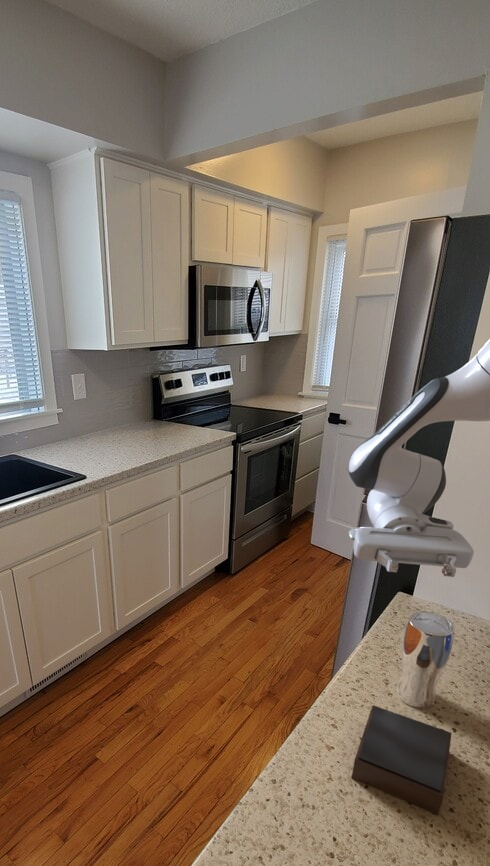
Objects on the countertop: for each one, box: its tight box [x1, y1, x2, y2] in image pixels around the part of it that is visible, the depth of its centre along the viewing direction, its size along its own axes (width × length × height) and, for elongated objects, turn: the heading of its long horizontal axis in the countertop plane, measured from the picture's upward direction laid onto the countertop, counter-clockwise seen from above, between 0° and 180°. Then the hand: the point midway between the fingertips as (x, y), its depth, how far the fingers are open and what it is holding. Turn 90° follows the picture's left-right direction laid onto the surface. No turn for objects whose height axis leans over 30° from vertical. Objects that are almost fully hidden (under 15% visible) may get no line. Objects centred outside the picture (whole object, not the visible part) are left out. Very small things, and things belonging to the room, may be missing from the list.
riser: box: [351, 705, 452, 816], centre depth 70 cm, size 12×11×4 cm
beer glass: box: [395, 611, 456, 709], centre depth 80 cm, size 7×7×15 cm
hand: (421, 571), depth 85 cm, fingers open, 8 cm apart
